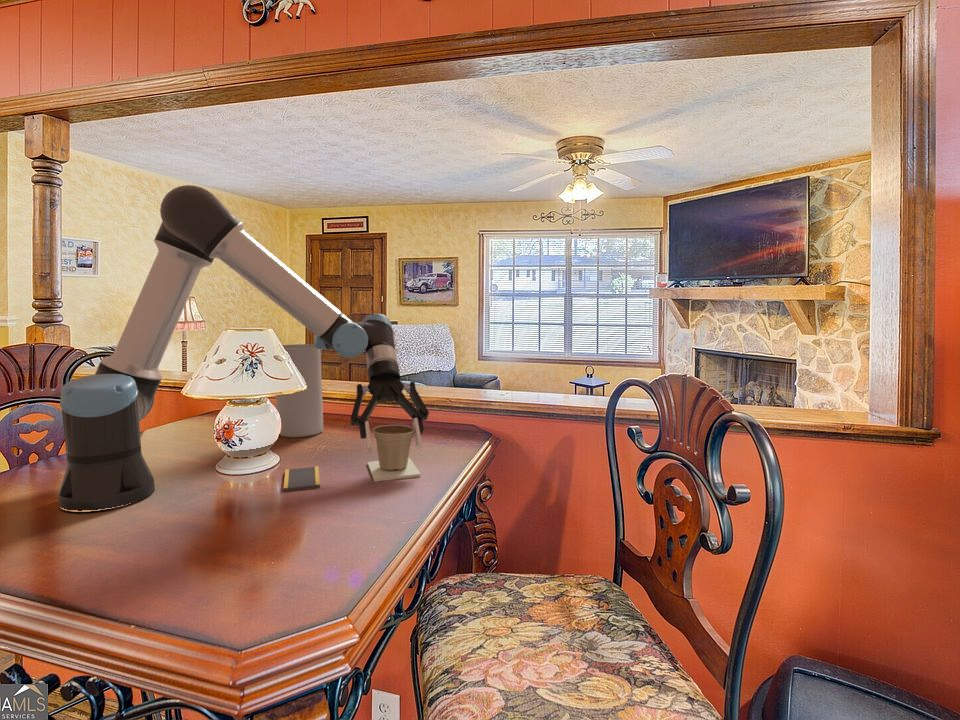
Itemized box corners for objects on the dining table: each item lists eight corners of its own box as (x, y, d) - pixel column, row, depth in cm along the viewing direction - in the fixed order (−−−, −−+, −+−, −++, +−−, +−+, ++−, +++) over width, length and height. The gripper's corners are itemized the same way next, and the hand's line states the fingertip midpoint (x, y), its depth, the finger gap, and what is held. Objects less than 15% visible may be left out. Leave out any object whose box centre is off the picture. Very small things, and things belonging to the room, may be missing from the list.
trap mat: (283, 491, 104) (283, 488, 104) (285, 472, 115) (285, 469, 115) (319, 487, 106) (319, 484, 106) (318, 469, 118) (318, 466, 117)
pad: (374, 481, 110) (374, 478, 110) (367, 464, 121) (367, 461, 121) (420, 476, 113) (420, 473, 113) (409, 460, 124) (409, 457, 124)
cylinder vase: (267, 436, 145) (263, 347, 142) (295, 425, 157) (292, 343, 154) (306, 440, 141) (302, 349, 138) (331, 428, 153) (329, 345, 150)
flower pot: (410, 473, 112) (411, 434, 112) (367, 472, 112) (368, 433, 112) (417, 461, 122) (417, 425, 121) (377, 460, 122) (377, 424, 121)
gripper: (426, 375, 133) (442, 451, 120) (334, 379, 126) (340, 461, 113) (431, 356, 127) (448, 435, 114) (334, 360, 120) (341, 444, 107)
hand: (394, 448), depth 113 cm, fingers open, 10 cm apart
